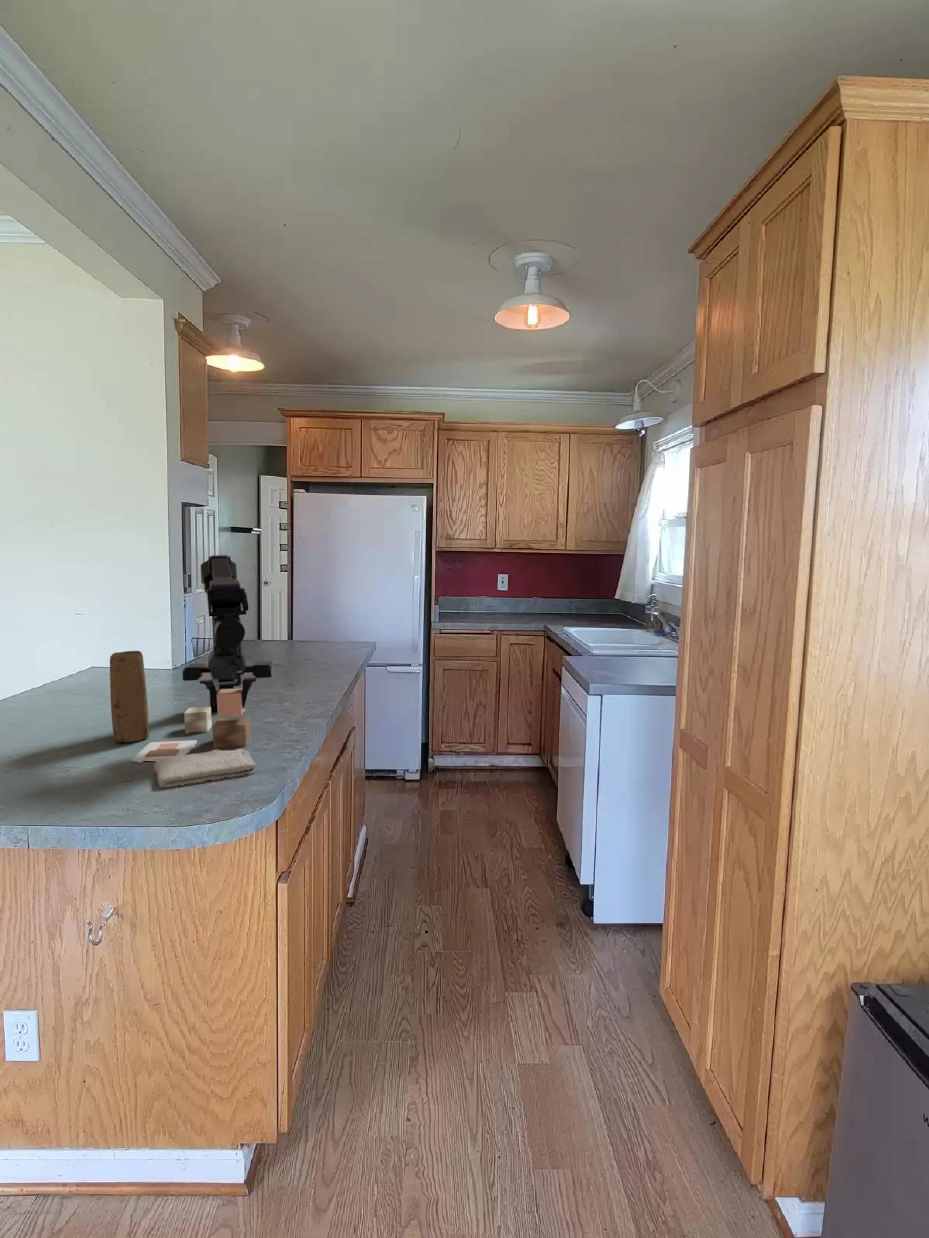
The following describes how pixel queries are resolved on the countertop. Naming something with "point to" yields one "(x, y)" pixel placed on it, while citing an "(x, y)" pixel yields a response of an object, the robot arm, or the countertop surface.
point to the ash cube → (198, 719)
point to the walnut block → (232, 732)
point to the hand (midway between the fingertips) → (231, 708)
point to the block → (128, 697)
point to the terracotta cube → (230, 702)
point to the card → (165, 750)
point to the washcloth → (203, 767)
